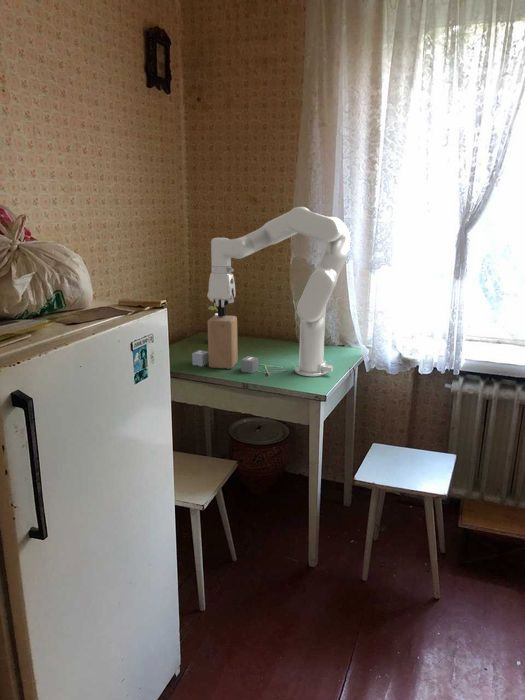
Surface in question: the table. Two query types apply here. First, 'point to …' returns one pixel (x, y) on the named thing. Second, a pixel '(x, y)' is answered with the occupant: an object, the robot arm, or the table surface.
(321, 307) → the robot arm
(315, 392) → the table surface
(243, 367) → the charcoal block marked 1
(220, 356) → the wooden block
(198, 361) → the slate block marked 7
